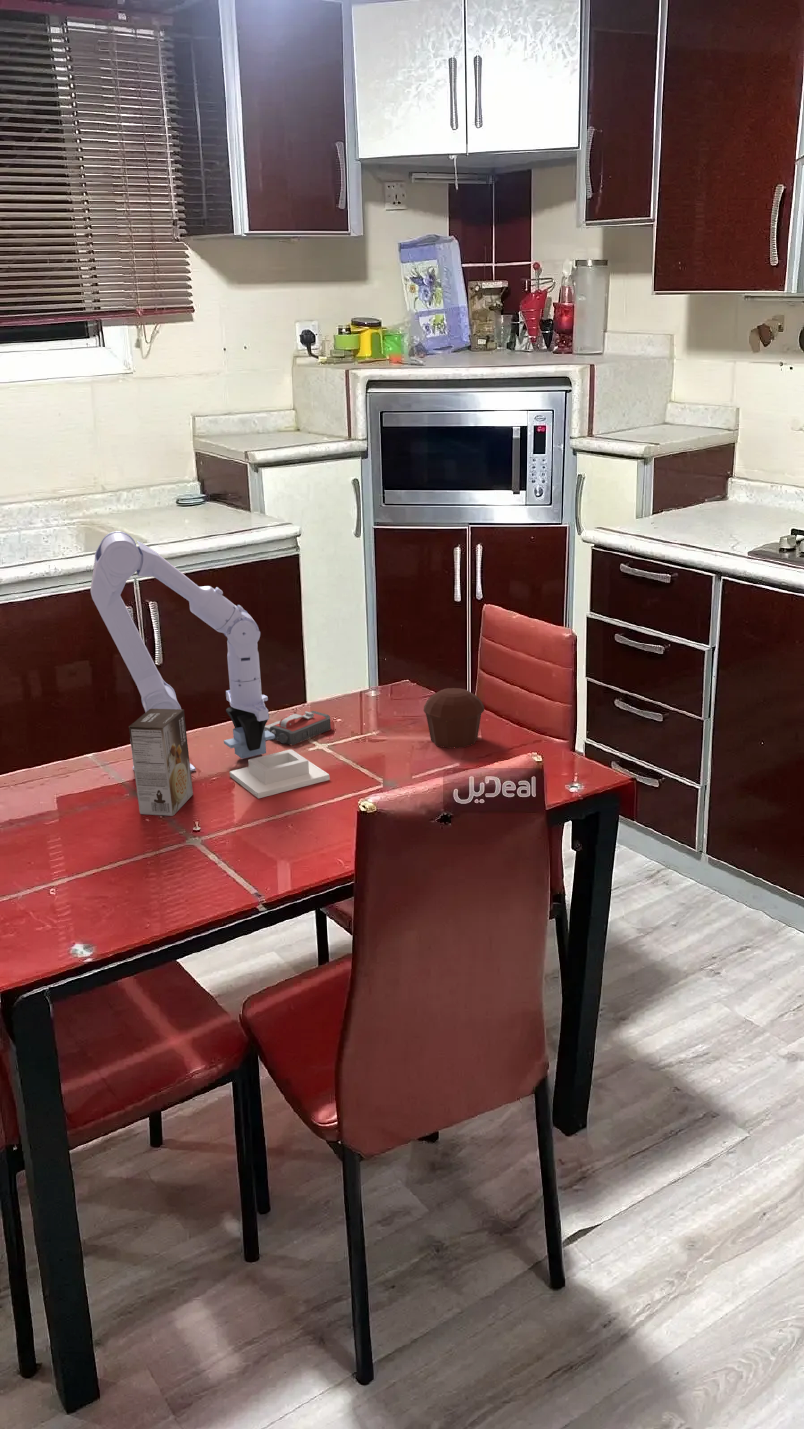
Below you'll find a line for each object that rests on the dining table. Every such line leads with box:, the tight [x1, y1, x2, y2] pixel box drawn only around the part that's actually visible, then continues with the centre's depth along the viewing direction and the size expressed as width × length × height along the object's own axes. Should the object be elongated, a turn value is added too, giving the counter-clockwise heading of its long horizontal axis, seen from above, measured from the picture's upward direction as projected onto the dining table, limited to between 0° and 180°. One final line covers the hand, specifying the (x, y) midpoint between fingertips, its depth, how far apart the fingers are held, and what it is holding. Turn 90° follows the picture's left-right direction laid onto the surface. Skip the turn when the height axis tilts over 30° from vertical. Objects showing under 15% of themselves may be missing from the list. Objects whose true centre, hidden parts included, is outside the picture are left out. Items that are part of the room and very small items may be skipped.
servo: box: [223, 727, 275, 760], centre depth 217 cm, size 9×3×6 cm, turn 122°
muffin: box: [423, 687, 485, 749], centre depth 222 cm, size 12×11×10 cm
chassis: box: [229, 749, 331, 799], centre depth 208 cm, size 14×12×4 cm
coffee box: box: [128, 708, 194, 817], centre depth 197 cm, size 9×6×16 cm
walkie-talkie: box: [264, 710, 332, 746], centre depth 228 cm, size 9×4×20 cm
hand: (250, 746), depth 217 cm, fingers closed on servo, 3 cm apart
